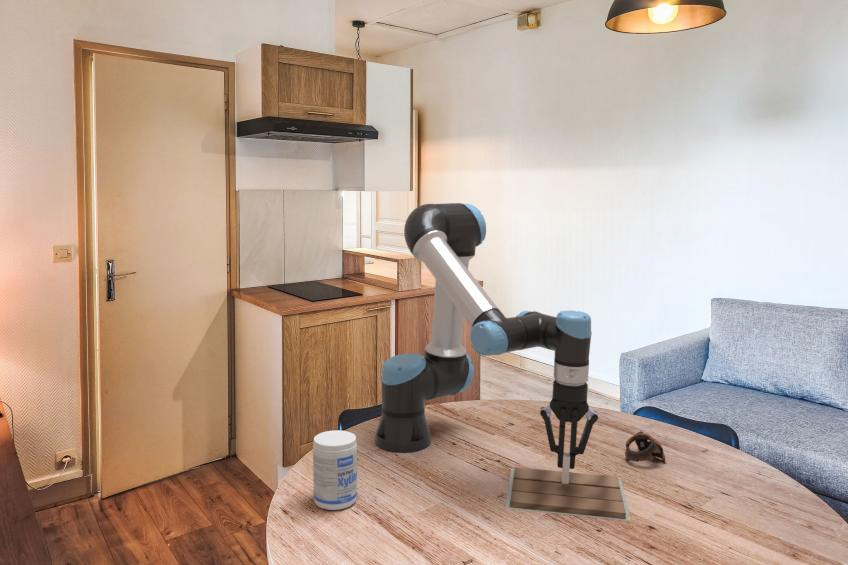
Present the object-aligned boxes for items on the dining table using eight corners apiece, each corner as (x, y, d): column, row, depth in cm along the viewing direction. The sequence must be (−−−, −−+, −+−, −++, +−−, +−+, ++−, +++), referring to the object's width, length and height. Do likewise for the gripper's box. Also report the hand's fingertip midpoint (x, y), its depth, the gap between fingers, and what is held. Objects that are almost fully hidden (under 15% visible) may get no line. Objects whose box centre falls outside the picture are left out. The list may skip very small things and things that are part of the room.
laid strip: (510, 506, 139) (510, 501, 139) (511, 495, 144) (511, 490, 144) (625, 518, 134) (625, 513, 134) (623, 507, 139) (623, 501, 139)
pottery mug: (673, 471, 160) (662, 447, 157) (637, 484, 162) (625, 460, 159) (658, 441, 171) (648, 418, 168) (624, 454, 173) (613, 431, 170)
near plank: (511, 495, 144) (511, 490, 144) (513, 483, 150) (513, 479, 150) (622, 506, 140) (623, 501, 139) (620, 494, 145) (620, 489, 145)
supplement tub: (346, 515, 136) (345, 448, 134) (305, 508, 139) (304, 443, 137) (364, 494, 145) (363, 432, 143) (325, 488, 148) (324, 427, 146)
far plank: (513, 482, 151) (513, 477, 150) (514, 471, 156) (514, 467, 156) (619, 492, 146) (620, 487, 146) (617, 481, 152) (617, 476, 152)
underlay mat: (505, 509, 139) (505, 507, 139) (510, 470, 158) (510, 469, 158) (630, 522, 134) (630, 520, 134) (620, 481, 153) (621, 479, 153)
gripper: (540, 384, 140) (535, 485, 144) (602, 388, 138) (595, 491, 141) (541, 374, 147) (536, 470, 151) (599, 378, 145) (593, 476, 149)
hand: (565, 480), depth 146 cm, fingers closed
